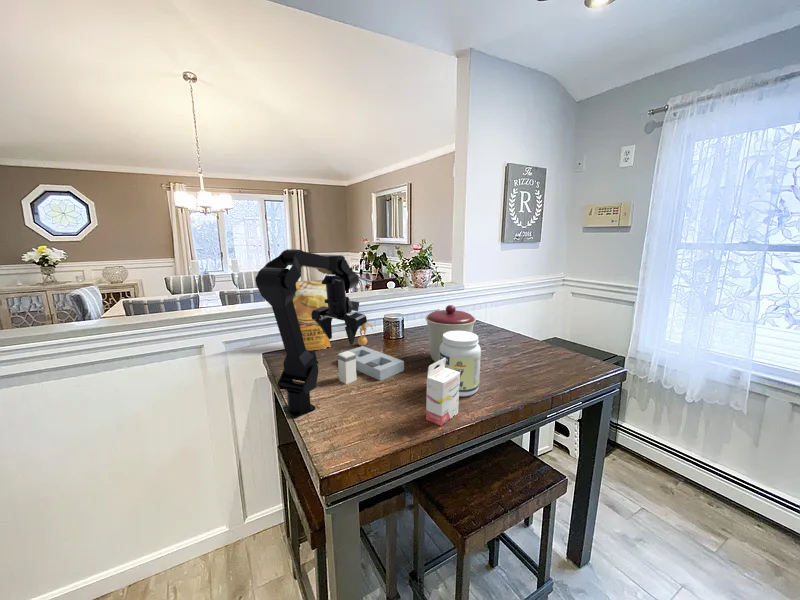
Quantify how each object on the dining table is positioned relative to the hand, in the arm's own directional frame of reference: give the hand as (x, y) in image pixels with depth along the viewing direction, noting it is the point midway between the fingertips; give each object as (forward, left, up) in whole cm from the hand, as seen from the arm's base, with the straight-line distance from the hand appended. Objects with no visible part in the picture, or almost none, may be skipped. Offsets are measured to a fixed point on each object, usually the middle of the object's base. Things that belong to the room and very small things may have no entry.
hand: (340, 341), depth 108 cm
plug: (-4, +1, -12) cm, 13 cm away
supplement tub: (-33, -19, -12) cm, 40 cm away
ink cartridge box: (-39, -3, -12) cm, 41 cm away
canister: (-18, -35, -12) cm, 41 cm away
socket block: (-1, -12, -12) cm, 17 cm away
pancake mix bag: (+30, -6, -12) cm, 33 cm away
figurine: (+17, -23, -12) cm, 31 cm away
